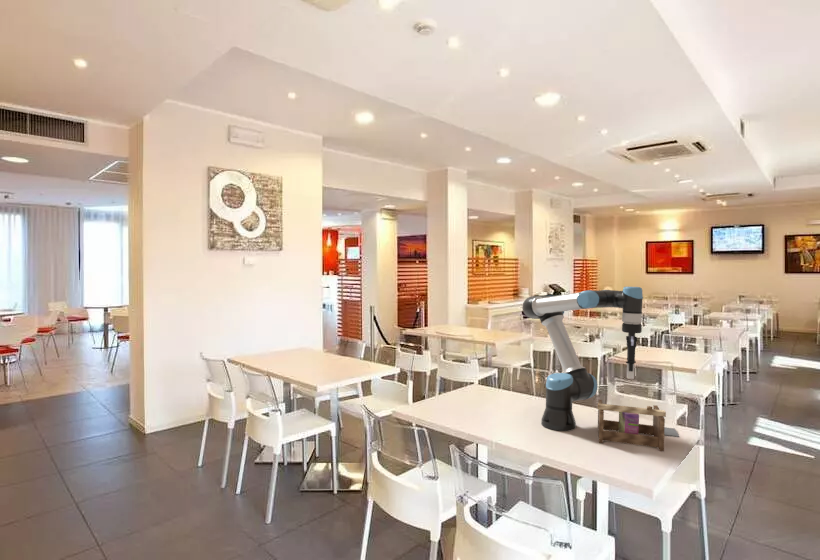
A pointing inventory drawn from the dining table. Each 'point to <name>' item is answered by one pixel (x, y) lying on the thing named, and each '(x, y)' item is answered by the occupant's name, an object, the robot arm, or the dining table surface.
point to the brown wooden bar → (632, 409)
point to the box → (628, 422)
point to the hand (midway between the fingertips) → (630, 378)
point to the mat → (670, 432)
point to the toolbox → (629, 438)
